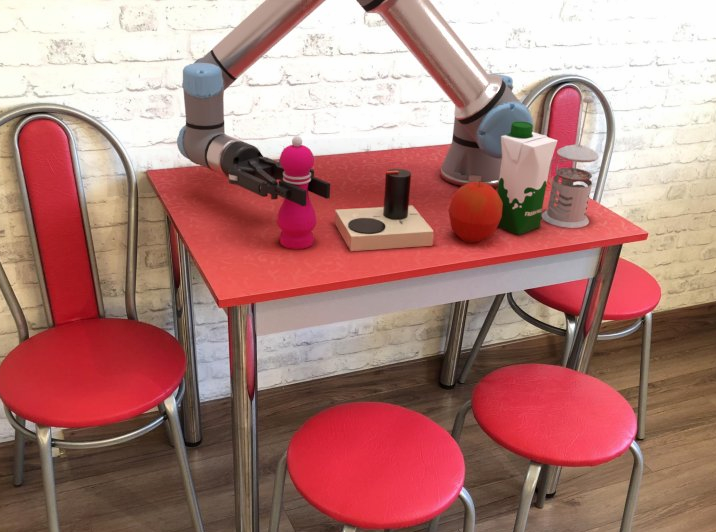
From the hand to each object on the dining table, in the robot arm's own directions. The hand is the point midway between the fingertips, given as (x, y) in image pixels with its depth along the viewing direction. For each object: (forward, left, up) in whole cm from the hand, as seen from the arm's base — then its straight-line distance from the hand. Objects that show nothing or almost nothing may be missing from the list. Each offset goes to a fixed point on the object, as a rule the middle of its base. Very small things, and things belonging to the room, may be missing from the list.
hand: (316, 194), depth 140 cm
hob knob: (-17, -8, -8) cm, 21 cm away
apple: (-31, -2, -11) cm, 33 cm away
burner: (-10, -3, -8) cm, 14 cm away
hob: (-14, -6, -11) cm, 19 cm away
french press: (-54, -9, -11) cm, 56 cm away
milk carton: (-42, -6, -11) cm, 44 cm away
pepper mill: (+3, -5, -11) cm, 12 cm away
